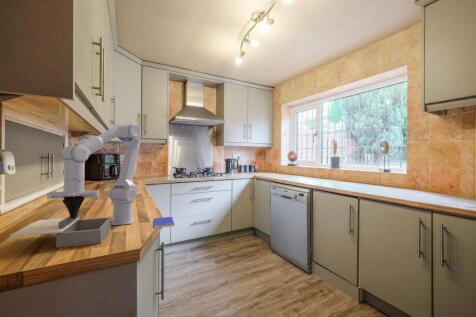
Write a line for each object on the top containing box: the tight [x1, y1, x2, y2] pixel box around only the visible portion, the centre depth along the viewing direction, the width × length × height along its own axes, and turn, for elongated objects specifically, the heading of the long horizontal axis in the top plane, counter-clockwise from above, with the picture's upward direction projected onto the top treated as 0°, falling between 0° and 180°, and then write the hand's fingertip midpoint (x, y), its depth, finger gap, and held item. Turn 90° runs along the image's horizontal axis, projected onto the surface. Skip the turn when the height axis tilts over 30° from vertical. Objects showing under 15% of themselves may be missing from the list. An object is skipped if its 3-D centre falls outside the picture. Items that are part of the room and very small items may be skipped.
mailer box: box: [55, 217, 112, 249], centre depth 76 cm, size 16×12×4 cm
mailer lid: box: [9, 215, 81, 238], centre depth 73 cm, size 16×12×3 cm
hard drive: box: [153, 216, 175, 229], centre depth 94 cm, size 2×8×12 cm
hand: (73, 218), depth 75 cm, fingers closed
